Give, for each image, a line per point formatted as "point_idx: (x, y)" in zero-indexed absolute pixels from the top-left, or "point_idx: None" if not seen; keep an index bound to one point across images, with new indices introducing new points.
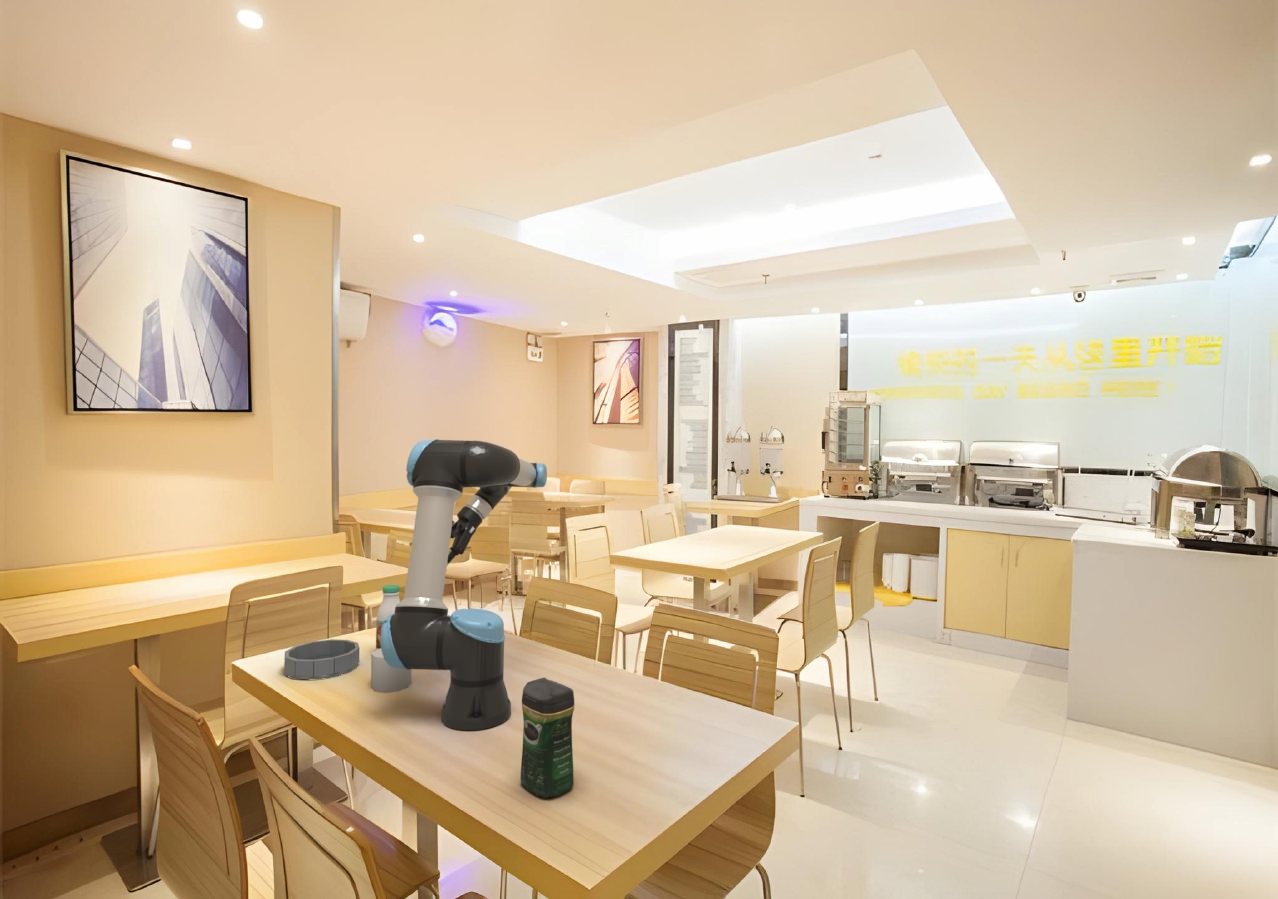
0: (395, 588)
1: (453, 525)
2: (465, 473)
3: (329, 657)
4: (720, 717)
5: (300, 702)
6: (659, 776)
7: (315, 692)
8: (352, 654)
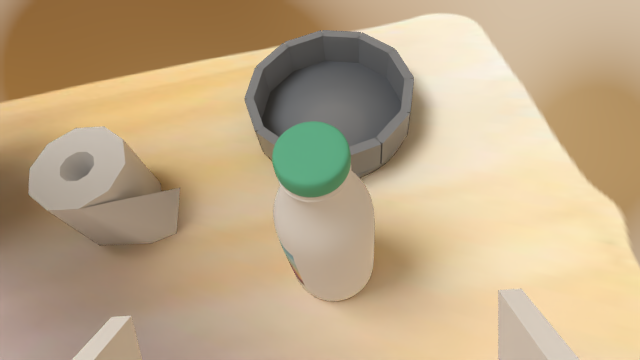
0: (273, 163)
1: None
2: None
3: (373, 129)
4: None
5: (172, 70)
6: None
7: (199, 92)
8: (261, 138)
